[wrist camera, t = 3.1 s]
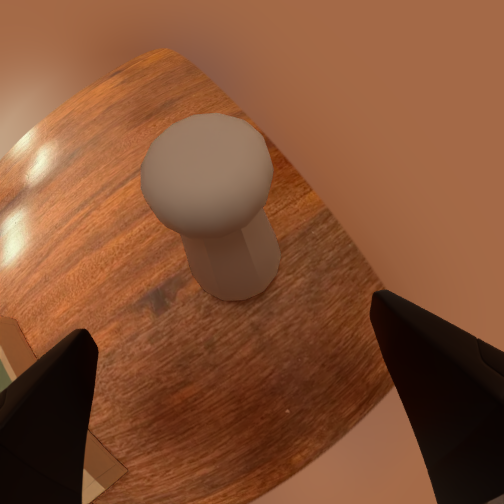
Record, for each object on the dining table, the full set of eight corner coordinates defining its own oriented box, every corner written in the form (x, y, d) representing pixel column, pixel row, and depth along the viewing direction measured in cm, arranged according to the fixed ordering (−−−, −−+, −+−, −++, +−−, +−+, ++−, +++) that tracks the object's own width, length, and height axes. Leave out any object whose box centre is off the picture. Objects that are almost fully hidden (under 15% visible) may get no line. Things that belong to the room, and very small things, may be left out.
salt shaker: (286, 295, 19) (328, 218, 7) (206, 313, 19) (110, 268, 7) (267, 219, 21) (269, 76, 8) (192, 236, 21) (115, 114, 8)
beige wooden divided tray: (128, 470, 15) (105, 489, 11) (85, 506, 13) (64, 521, 9) (15, 318, 19) (-14, 312, 15) (-12, 372, 17) (-37, 371, 13)
